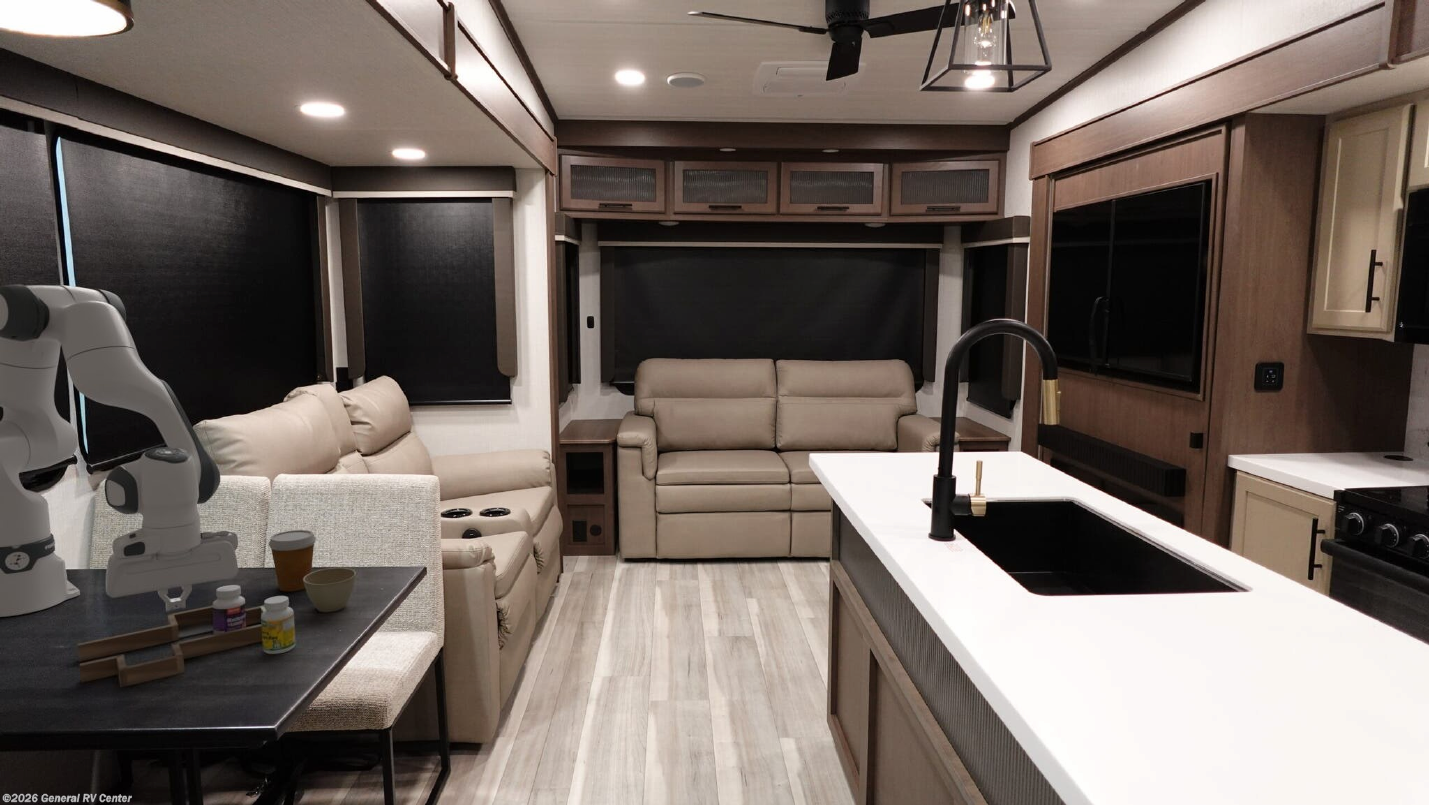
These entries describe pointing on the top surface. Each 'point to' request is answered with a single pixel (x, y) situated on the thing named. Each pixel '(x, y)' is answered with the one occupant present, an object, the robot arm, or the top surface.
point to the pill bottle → (228, 609)
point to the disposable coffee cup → (292, 557)
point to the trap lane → (176, 629)
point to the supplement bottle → (277, 625)
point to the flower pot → (330, 588)
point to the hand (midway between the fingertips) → (175, 609)
